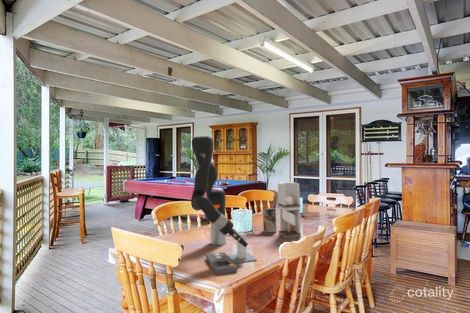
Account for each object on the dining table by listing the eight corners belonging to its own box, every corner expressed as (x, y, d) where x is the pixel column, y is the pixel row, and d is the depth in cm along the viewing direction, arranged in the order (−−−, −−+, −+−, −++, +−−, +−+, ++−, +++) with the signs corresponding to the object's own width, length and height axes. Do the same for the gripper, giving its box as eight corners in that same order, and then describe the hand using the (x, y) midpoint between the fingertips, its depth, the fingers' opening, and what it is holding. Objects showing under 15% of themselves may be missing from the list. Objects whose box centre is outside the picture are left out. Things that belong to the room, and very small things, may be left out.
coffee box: (276, 230, 232) (276, 207, 232) (276, 232, 226) (275, 209, 226) (263, 230, 234) (263, 207, 234) (263, 232, 227) (262, 209, 227)
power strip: (205, 256, 175) (204, 251, 175) (222, 254, 177) (222, 249, 177) (216, 274, 148) (216, 268, 148) (237, 272, 151) (237, 265, 151)
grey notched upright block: (279, 233, 222) (277, 182, 222) (293, 232, 224) (292, 182, 224) (285, 237, 211) (284, 184, 211) (300, 236, 213) (299, 183, 213)
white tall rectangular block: (237, 256, 172) (236, 233, 172) (244, 255, 173) (243, 233, 173) (239, 259, 168) (238, 235, 168) (246, 258, 169) (246, 234, 169)
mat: (228, 256, 175) (228, 255, 175) (249, 254, 178) (249, 252, 178) (234, 263, 163) (234, 262, 163) (256, 260, 166) (256, 259, 166)
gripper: (230, 220, 161) (253, 241, 165) (223, 215, 175) (244, 235, 178) (220, 232, 160) (243, 253, 163) (214, 226, 174) (235, 245, 177)
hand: (243, 243), depth 171 cm, fingers open, 8 cm apart
